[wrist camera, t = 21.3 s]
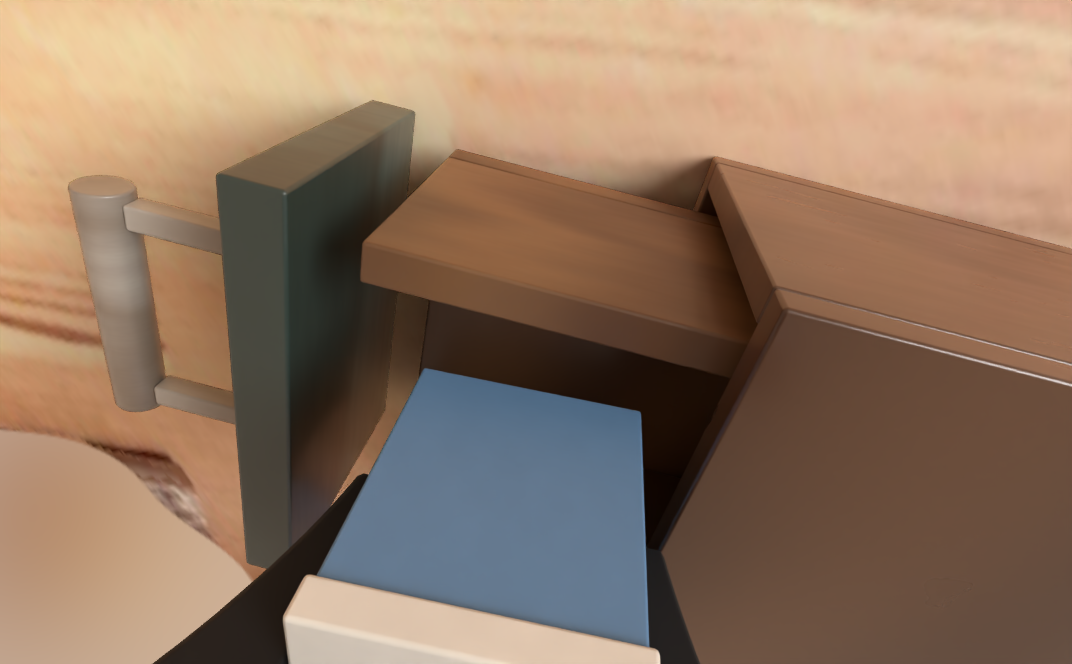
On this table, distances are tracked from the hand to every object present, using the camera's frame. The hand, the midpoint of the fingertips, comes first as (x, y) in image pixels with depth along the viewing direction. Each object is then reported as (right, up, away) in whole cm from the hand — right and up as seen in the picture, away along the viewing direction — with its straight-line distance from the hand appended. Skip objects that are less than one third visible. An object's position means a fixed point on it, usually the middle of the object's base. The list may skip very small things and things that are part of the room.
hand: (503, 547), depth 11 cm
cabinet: (+11, +2, +8) cm, 13 cm away
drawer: (-1, +5, +7) cm, 8 cm away
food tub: (0, +1, +1) cm, 1 cm away
